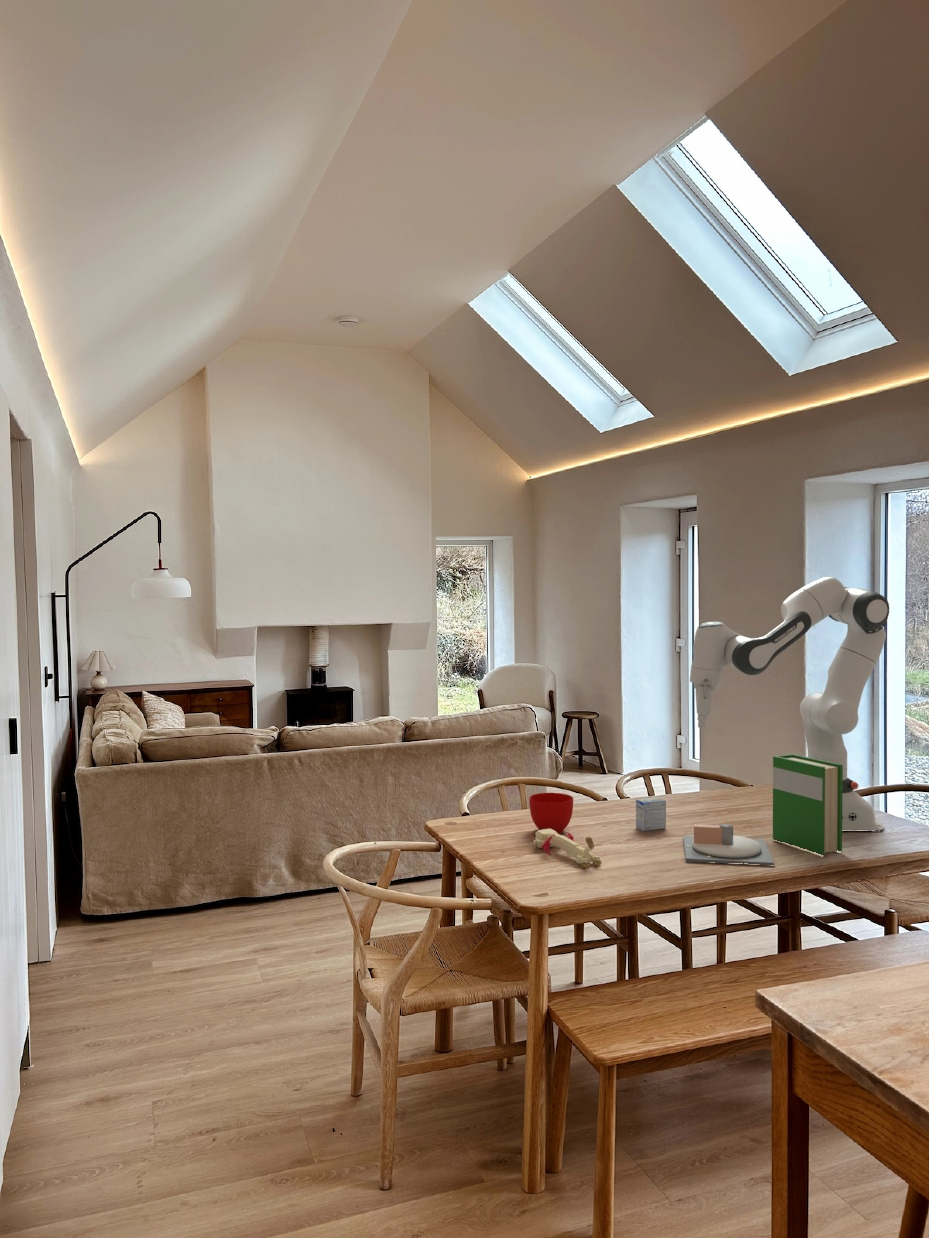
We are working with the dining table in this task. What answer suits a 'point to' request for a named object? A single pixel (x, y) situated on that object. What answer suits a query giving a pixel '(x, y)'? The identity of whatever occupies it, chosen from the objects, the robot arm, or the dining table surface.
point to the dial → (723, 842)
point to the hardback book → (807, 803)
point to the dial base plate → (696, 856)
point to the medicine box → (650, 814)
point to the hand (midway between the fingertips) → (700, 724)
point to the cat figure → (567, 846)
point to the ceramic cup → (551, 810)
